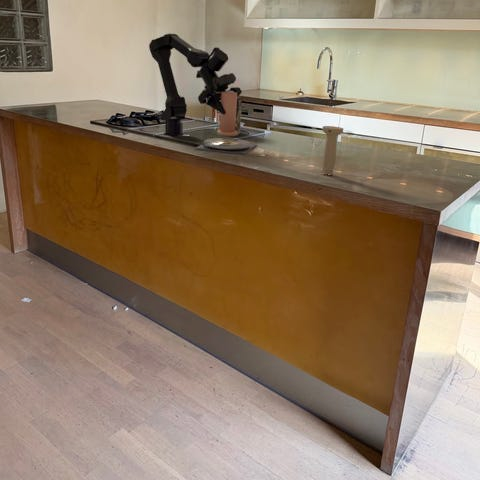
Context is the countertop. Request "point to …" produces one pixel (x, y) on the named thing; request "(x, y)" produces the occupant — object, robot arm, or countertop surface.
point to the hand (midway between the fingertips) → (230, 113)
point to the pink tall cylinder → (228, 114)
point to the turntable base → (242, 151)
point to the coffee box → (238, 115)
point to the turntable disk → (226, 144)
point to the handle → (330, 148)
